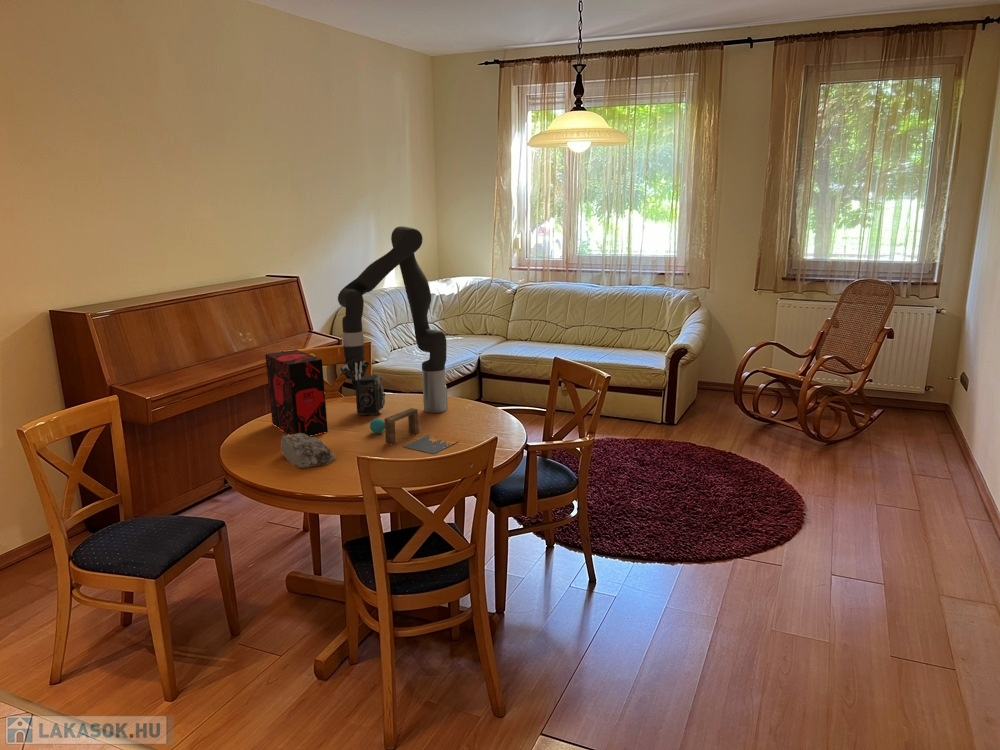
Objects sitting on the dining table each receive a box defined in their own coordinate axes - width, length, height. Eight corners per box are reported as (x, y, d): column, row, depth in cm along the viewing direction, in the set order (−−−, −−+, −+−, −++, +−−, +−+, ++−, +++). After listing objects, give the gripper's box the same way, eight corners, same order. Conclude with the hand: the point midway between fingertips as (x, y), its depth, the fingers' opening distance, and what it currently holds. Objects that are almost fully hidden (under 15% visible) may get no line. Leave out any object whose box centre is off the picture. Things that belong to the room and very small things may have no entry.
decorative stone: (274, 453, 235) (279, 425, 233) (310, 451, 244) (315, 424, 242) (299, 477, 221) (305, 447, 219) (337, 474, 230) (343, 446, 228)
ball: (377, 429, 261) (376, 415, 260) (388, 432, 258) (387, 417, 257) (367, 434, 257) (366, 419, 255) (378, 436, 254) (377, 421, 252)
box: (272, 424, 270) (265, 354, 263) (303, 418, 277) (296, 349, 270) (295, 439, 252) (288, 364, 245) (327, 432, 259) (321, 359, 253)
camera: (382, 416, 277) (380, 380, 274) (356, 416, 278) (353, 380, 274) (387, 409, 288) (385, 373, 284) (361, 409, 288) (359, 374, 284)
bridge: (385, 443, 246) (384, 418, 244) (412, 432, 258) (411, 408, 255) (392, 445, 244) (390, 419, 242) (418, 433, 256) (417, 409, 254)
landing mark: (427, 435, 253) (427, 435, 253) (458, 442, 246) (458, 441, 246) (402, 447, 242) (402, 446, 242) (434, 454, 234) (434, 453, 234)
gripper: (358, 339, 262) (361, 384, 266) (332, 345, 251) (336, 392, 255) (373, 341, 258) (376, 386, 262) (347, 347, 247) (351, 394, 251)
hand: (356, 389), depth 259 cm, fingers closed
